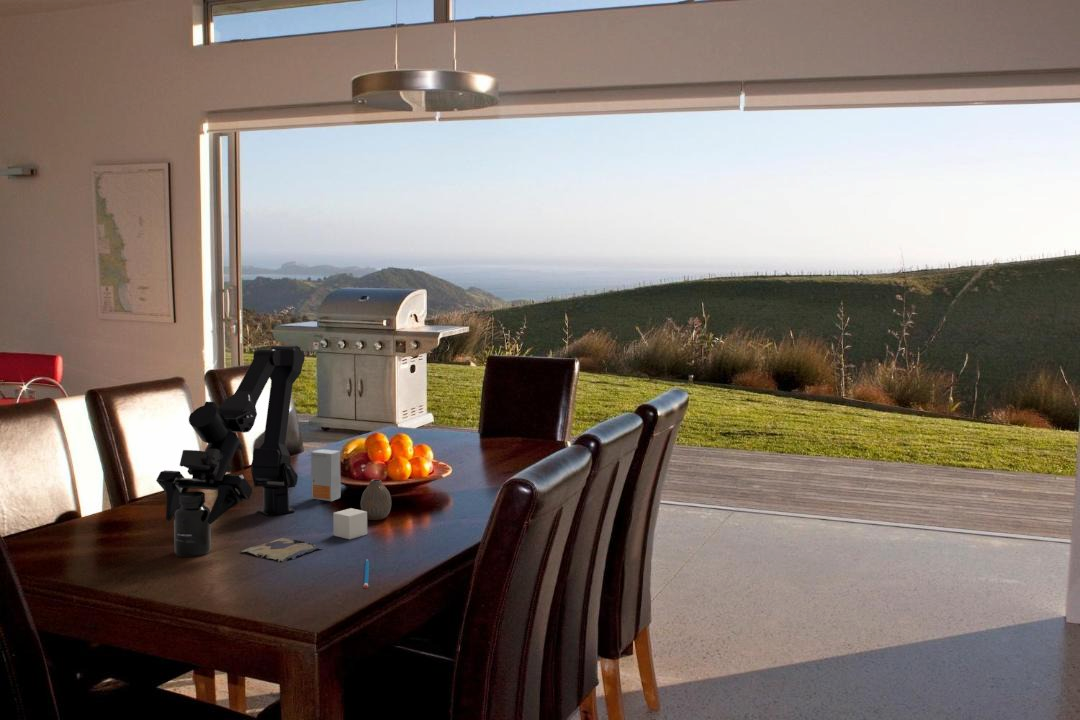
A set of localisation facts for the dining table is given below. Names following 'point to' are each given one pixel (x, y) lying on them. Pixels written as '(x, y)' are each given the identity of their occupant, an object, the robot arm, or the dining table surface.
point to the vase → (376, 500)
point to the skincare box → (325, 475)
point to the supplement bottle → (192, 525)
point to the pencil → (366, 574)
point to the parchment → (280, 550)
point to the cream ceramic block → (350, 523)
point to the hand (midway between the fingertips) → (188, 521)
